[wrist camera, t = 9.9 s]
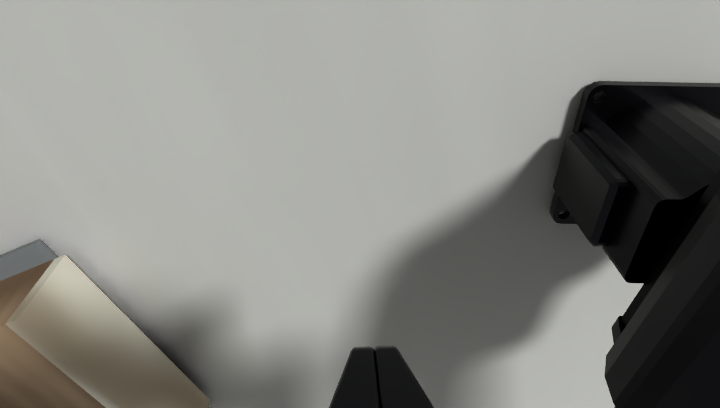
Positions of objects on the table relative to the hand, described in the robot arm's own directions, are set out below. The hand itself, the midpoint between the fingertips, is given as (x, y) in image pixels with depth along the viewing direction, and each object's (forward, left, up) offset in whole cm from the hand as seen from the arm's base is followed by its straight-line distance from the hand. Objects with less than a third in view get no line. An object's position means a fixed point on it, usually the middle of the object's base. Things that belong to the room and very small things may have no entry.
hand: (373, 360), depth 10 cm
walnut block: (+11, +13, -10) cm, 19 cm away
